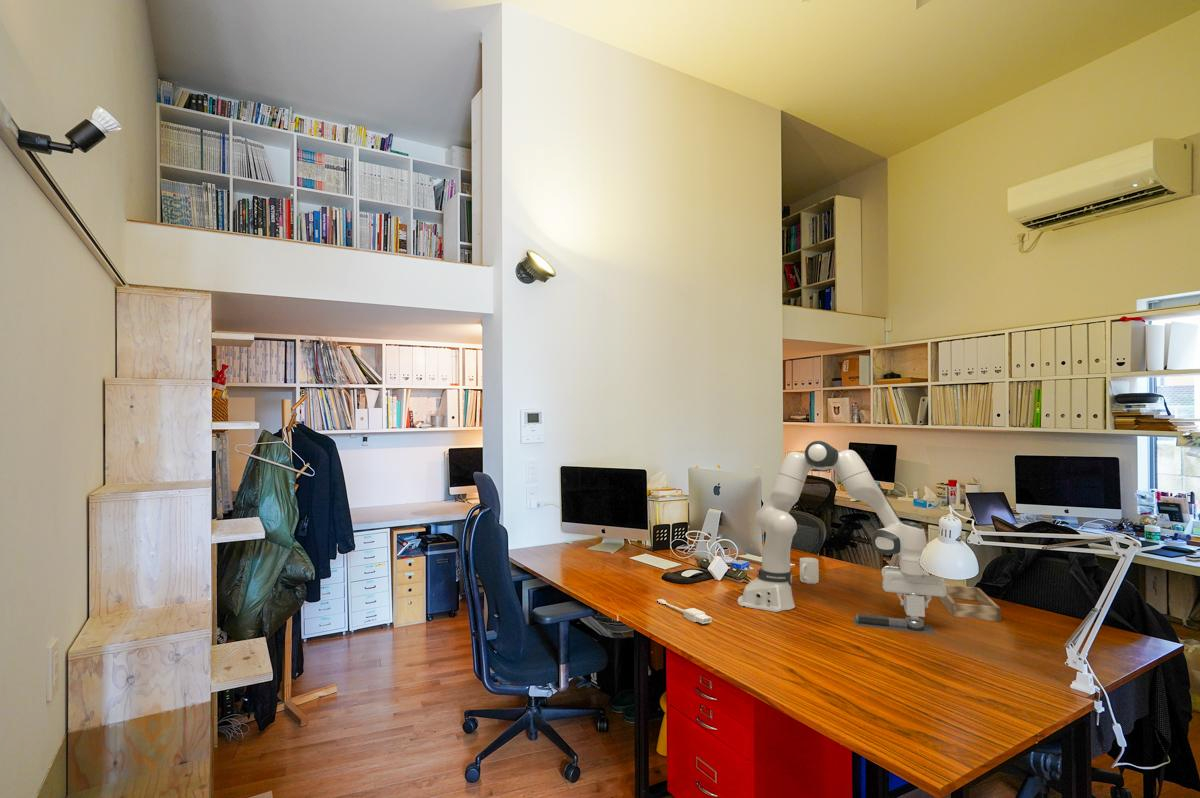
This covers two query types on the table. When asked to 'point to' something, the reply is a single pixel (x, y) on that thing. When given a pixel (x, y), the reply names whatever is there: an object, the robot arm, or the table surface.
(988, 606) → the frame
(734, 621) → the table surface
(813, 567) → the mug
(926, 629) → the tool mat
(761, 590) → the robot arm
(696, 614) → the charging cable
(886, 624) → the ratchet
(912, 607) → the socket
